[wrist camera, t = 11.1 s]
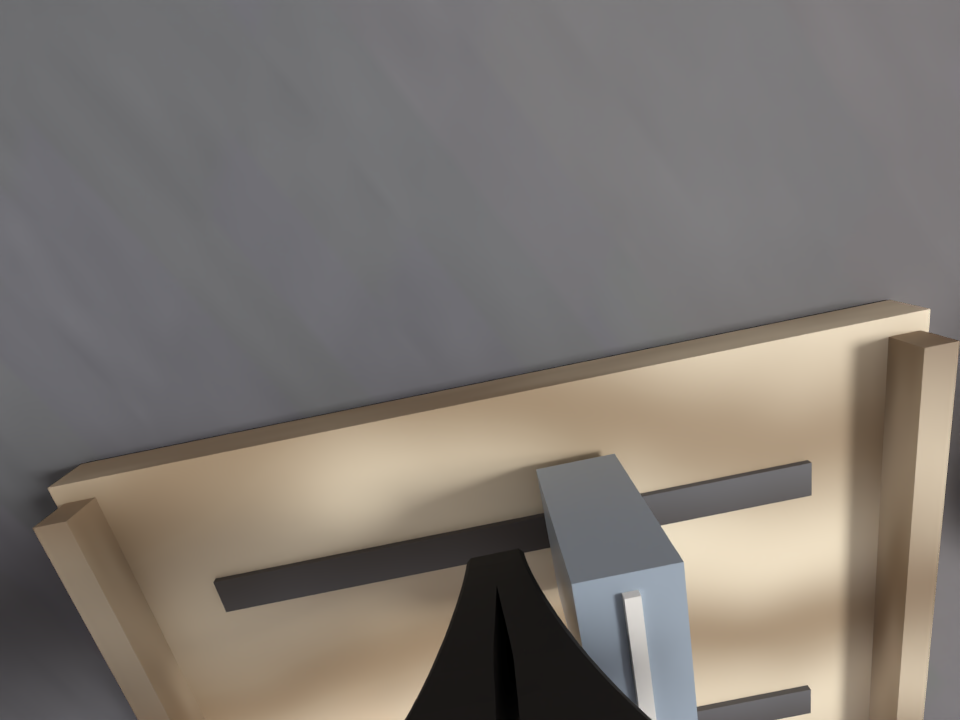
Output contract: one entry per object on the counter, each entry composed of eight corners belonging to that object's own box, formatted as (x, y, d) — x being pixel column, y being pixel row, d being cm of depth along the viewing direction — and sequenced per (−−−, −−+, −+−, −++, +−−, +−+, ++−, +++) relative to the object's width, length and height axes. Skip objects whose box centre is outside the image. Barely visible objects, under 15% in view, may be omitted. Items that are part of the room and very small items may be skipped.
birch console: (867, 731, 18) (921, 800, 16) (270, 847, 18) (247, 930, 16) (889, 299, 13) (970, 317, 11) (81, 463, 14) (14, 511, 12)
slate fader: (631, 582, 14) (701, 733, 10) (559, 596, 14) (601, 752, 10) (614, 453, 13) (687, 567, 9) (535, 469, 13) (573, 590, 9)
